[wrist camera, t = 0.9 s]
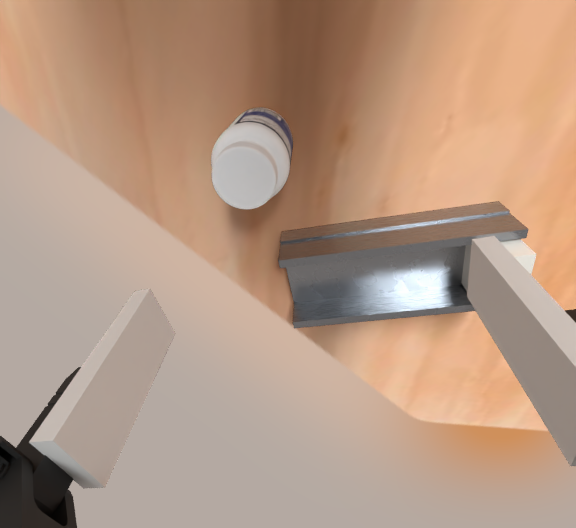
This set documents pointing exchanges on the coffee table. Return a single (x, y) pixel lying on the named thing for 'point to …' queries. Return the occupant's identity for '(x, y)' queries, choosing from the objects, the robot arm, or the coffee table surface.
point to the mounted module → (513, 246)
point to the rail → (388, 264)
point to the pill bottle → (252, 158)
